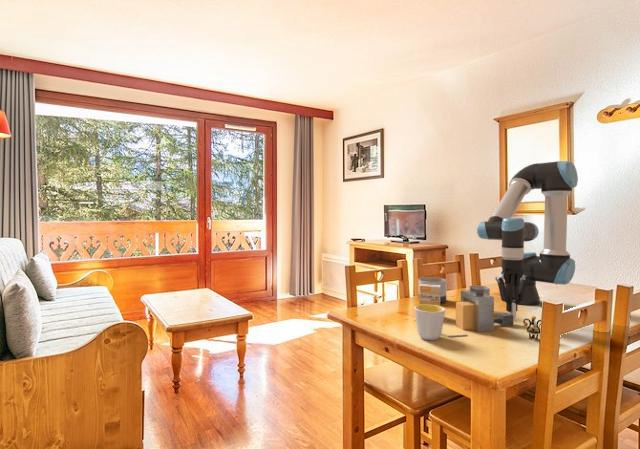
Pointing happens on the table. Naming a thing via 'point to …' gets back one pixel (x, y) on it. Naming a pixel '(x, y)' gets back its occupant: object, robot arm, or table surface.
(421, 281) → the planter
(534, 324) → the figurine
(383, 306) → the table surface
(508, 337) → the table surface
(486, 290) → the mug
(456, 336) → the bay
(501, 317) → the plug
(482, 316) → the housing
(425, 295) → the supplement box
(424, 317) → the mug
